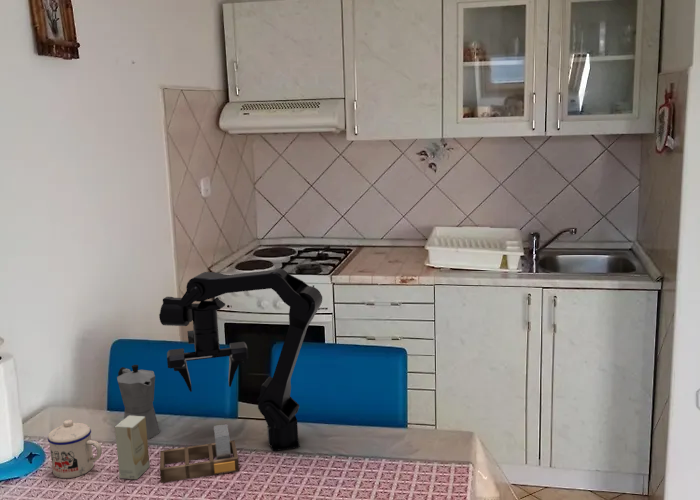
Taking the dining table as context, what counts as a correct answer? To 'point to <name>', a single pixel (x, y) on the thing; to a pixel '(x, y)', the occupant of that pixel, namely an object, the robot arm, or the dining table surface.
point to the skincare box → (132, 447)
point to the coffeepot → (139, 396)
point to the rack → (196, 468)
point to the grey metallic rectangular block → (222, 442)
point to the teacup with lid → (72, 449)
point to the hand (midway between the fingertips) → (210, 388)
